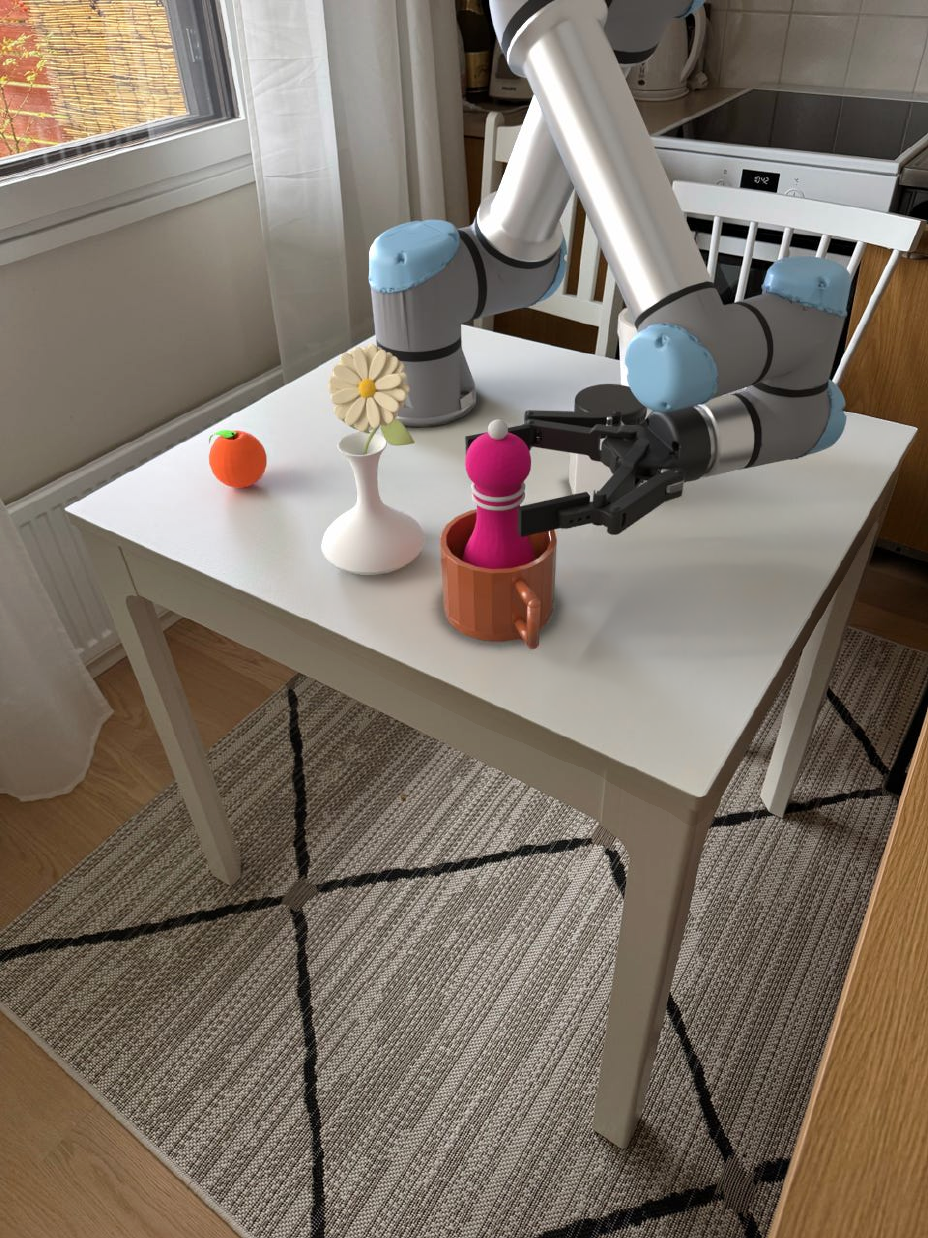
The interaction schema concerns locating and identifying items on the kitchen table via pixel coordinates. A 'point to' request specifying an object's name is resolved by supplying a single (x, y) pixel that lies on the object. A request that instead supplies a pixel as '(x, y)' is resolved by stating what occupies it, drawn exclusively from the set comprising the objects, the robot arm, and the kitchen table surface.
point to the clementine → (237, 458)
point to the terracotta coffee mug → (497, 588)
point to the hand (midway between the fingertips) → (491, 484)
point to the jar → (593, 473)
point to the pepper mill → (498, 499)
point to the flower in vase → (370, 465)
